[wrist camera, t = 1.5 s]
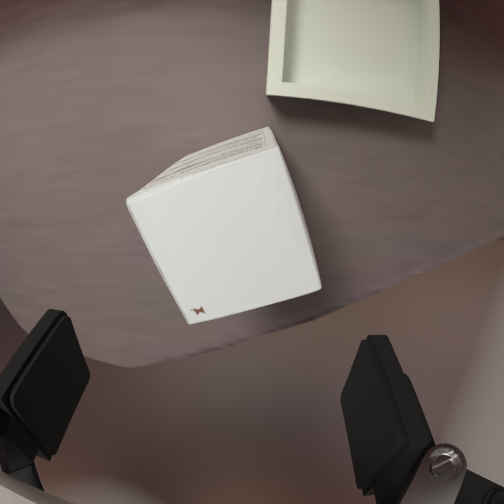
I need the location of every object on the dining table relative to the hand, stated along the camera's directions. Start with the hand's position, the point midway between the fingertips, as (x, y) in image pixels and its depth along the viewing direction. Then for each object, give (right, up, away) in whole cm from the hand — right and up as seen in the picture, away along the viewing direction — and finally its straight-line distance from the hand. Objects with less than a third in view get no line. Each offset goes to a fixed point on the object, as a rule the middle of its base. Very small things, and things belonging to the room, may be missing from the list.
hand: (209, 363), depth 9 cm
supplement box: (0, +9, +16) cm, 19 cm away
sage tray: (+9, +21, +10) cm, 25 cm away
